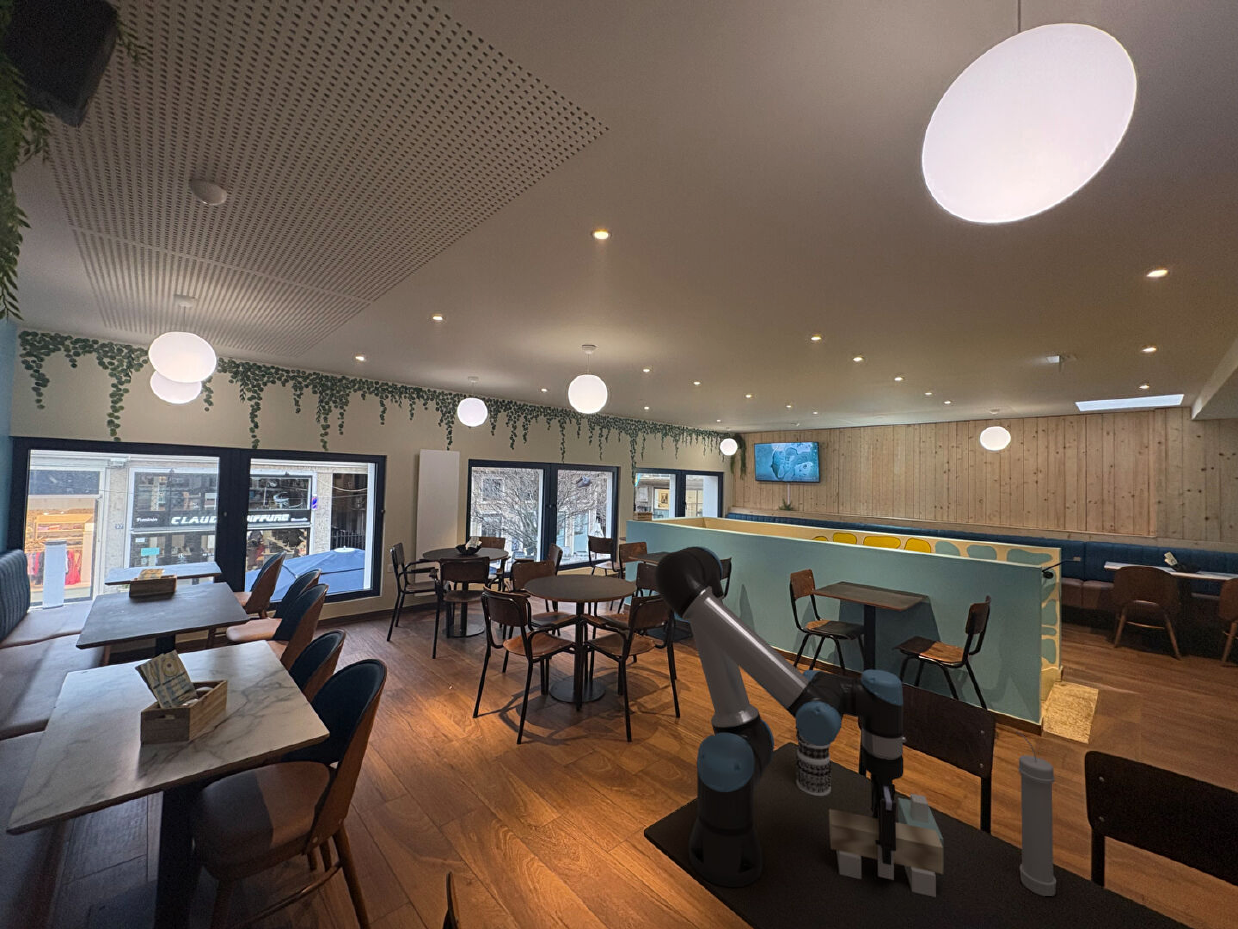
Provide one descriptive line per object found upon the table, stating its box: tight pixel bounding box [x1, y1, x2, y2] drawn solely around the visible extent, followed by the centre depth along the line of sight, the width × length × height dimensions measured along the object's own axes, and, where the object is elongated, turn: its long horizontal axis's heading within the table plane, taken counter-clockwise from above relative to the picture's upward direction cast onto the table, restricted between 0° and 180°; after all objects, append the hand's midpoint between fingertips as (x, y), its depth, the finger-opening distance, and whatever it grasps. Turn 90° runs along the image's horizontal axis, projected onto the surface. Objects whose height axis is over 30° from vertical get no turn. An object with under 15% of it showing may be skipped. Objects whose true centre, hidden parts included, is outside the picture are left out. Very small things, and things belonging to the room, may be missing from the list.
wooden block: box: [828, 808, 944, 875], centre depth 102 cm, size 20×5×5 cm, turn 71°
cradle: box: [835, 850, 937, 898], centre depth 101 cm, size 17×7×4 cm, turn 71°
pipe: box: [1015, 730, 1057, 897], centre depth 99 cm, size 6×6×30 cm
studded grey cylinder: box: [794, 725, 832, 797], centre depth 130 cm, size 9×9×25 cm
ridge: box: [897, 793, 945, 870], centre depth 109 cm, size 6×12×10 cm, turn 161°
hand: (883, 866), depth 101 cm, fingers closed on wooden block, 5 cm apart
